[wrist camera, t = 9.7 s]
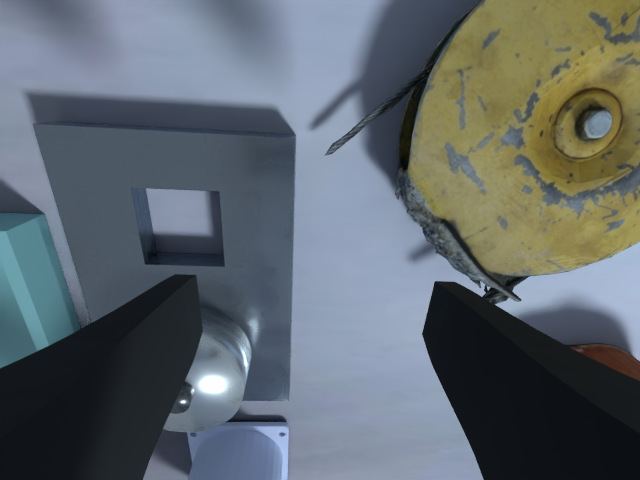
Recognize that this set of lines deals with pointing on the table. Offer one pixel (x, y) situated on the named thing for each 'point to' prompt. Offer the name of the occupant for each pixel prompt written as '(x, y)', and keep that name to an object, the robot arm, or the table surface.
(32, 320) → the tray
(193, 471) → the robot arm
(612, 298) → the table surface
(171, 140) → the plate
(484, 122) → the yellow flat irregular piece
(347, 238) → the table surface
